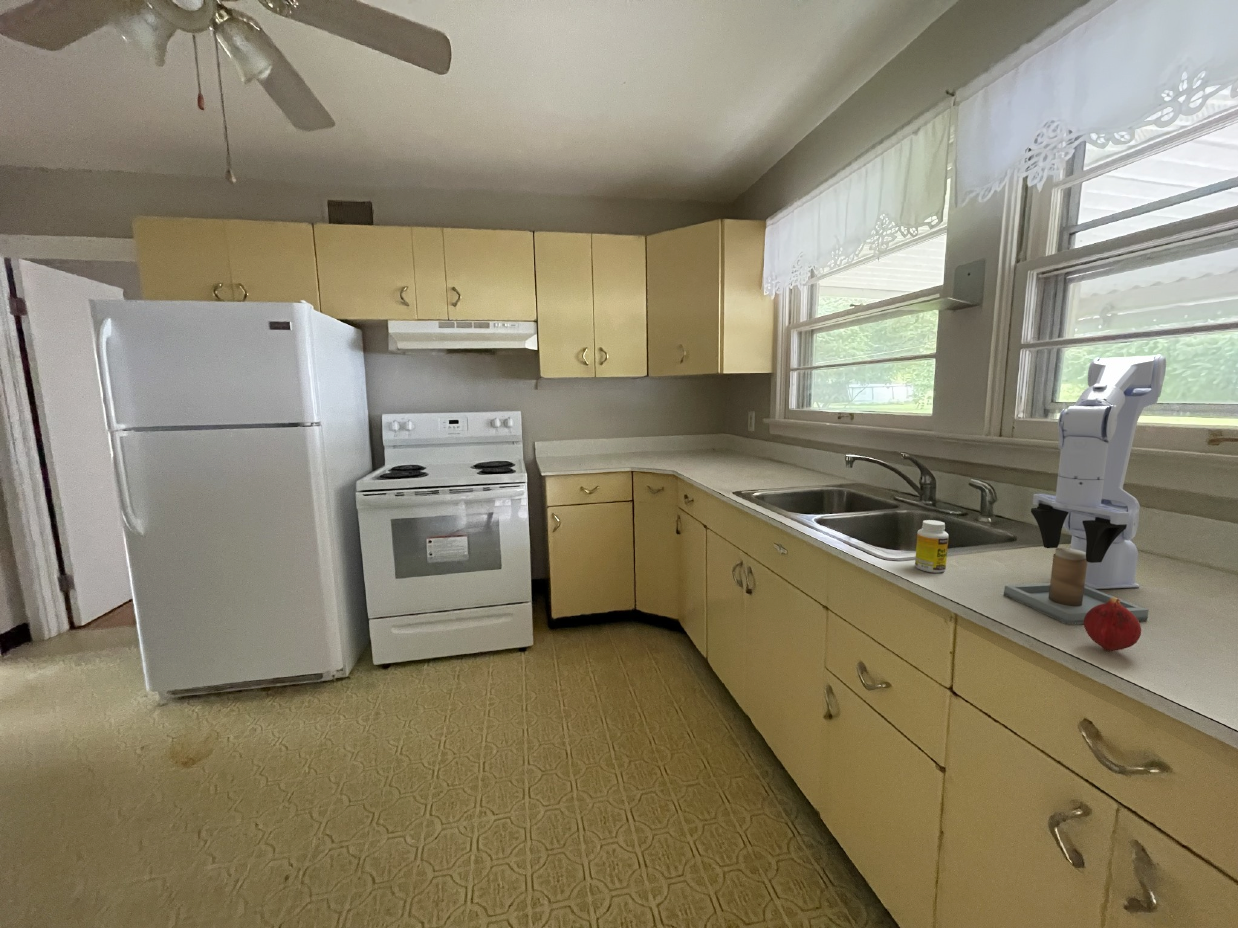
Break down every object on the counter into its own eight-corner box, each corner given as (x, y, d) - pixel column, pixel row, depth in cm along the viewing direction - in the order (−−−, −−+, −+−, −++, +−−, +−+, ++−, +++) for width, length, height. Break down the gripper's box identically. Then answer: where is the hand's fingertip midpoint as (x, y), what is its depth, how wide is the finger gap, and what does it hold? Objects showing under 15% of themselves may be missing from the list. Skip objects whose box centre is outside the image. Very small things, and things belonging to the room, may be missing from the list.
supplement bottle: (938, 575, 100) (941, 527, 99) (909, 567, 105) (913, 521, 104) (950, 570, 104) (954, 522, 102) (922, 562, 108) (926, 517, 107)
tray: (1074, 591, 92) (1075, 581, 92) (1147, 620, 80) (1148, 609, 80) (1003, 594, 91) (1004, 585, 91) (1067, 624, 79) (1068, 613, 79)
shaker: (1064, 595, 89) (1070, 547, 87) (1089, 605, 84) (1096, 555, 83) (1041, 596, 88) (1047, 547, 87) (1065, 606, 84) (1071, 555, 83)
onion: (1144, 666, 67) (1152, 610, 66) (1086, 654, 70) (1093, 601, 69) (1129, 647, 72) (1136, 595, 71) (1076, 637, 75) (1082, 587, 74)
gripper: (1020, 471, 90) (1013, 542, 92) (1103, 485, 76) (1093, 570, 78) (1056, 469, 91) (1048, 541, 92) (1145, 484, 76) (1134, 568, 78)
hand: (1071, 554), depth 85 cm, fingers open, 7 cm apart
